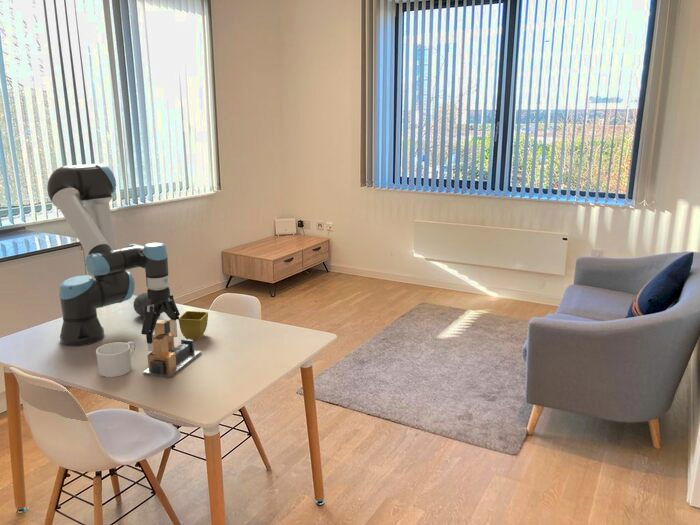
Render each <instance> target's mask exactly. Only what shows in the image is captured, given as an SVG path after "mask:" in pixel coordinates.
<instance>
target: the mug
mask: <svg viewBox="0 0 700 525" xmlns="http://www.w3.org/2000/svg"><path fill="white" fill-rule="evenodd" d="M135 349H136V345H135V343H134V342H133V341H128V342H121V341H119V342H118V341H115V342H109V343H105V344H102V345H100V346H98V347H97V348H96V350H95V355H96V360H97V366H98V371H99V375H100V376H102V377H104V376H105V377H104V378H117V377H121V376H124V375H127V374H128V373H129V372H130V371H131V370H132V361H131V360H132V358H131V357H132V356H133V354H134V352H135ZM116 376H117V377H116Z"/></svg>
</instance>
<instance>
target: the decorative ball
mask: <svg viewBox="0 0 700 525" xmlns="http://www.w3.org/2000/svg"><path fill="white" fill-rule="evenodd" d="M150 305H151V300H149V299H148V294H147V292H142V293H140V294H138V295H137V296H136V297H135V298H134V301H133V309H134V311H135V313H136V314H138V315H139V316H142V317H144V316H145V306H150ZM153 313H155V312H153Z"/></svg>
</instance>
